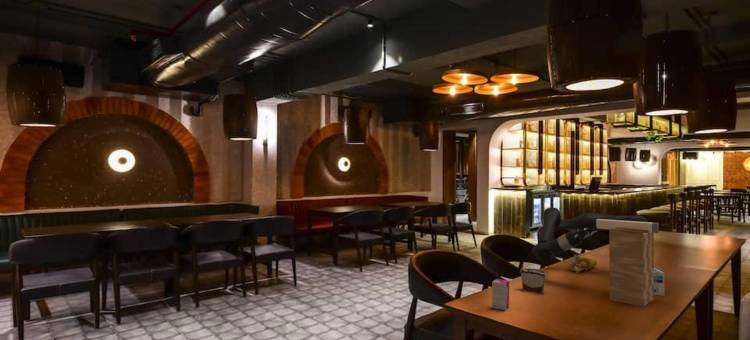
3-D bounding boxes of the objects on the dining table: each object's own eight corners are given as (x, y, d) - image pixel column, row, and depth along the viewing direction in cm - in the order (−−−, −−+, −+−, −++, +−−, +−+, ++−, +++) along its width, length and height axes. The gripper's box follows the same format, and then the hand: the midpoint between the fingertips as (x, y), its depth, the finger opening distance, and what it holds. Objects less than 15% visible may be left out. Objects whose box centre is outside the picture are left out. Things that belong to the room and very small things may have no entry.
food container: (550, 292, 203) (550, 270, 203) (545, 295, 198) (545, 273, 198) (525, 287, 211) (525, 266, 211) (519, 290, 207) (519, 269, 207)
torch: (596, 274, 254) (574, 274, 239) (585, 265, 259) (563, 265, 244) (604, 262, 251) (582, 262, 236) (592, 254, 257) (570, 253, 242)
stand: (621, 293, 201) (621, 225, 201) (653, 299, 191) (653, 228, 191) (609, 299, 191) (609, 228, 191) (643, 306, 181) (642, 231, 181)
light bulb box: (665, 296, 196) (665, 272, 196) (648, 295, 198) (648, 271, 198) (654, 289, 207) (654, 267, 207) (639, 289, 208) (639, 266, 208)
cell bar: (598, 227, 204) (598, 219, 204) (658, 232, 189) (658, 222, 189) (596, 228, 201) (596, 219, 201) (657, 233, 186) (657, 223, 186)
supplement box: (505, 311, 175) (505, 283, 175) (491, 309, 178) (491, 281, 178) (509, 307, 180) (509, 280, 180) (495, 305, 183) (495, 278, 183)
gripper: (580, 245, 217) (609, 231, 207) (567, 248, 207) (598, 234, 197) (572, 231, 220) (601, 217, 210) (559, 234, 210) (589, 219, 200)
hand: (599, 226), depth 203 cm, fingers open, 8 cm apart
